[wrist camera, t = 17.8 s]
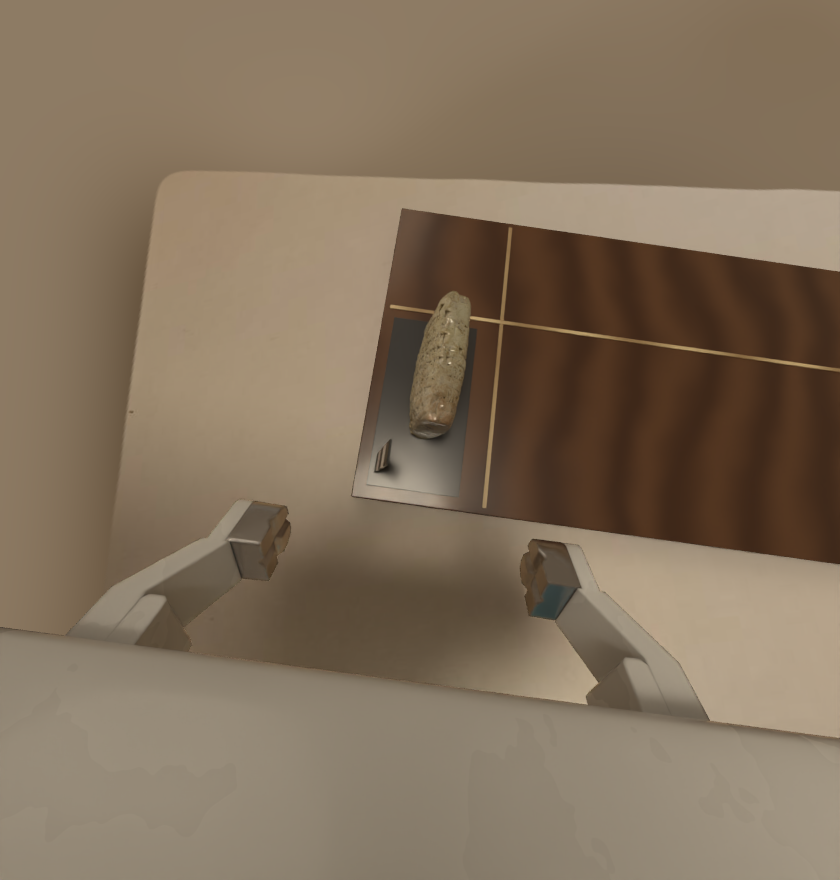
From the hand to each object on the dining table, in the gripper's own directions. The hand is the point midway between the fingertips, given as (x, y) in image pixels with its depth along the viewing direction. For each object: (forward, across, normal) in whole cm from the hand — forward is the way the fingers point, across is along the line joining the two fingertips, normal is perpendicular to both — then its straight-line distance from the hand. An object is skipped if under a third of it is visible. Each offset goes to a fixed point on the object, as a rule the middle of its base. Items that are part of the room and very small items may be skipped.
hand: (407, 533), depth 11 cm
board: (+20, -17, +1) cm, 26 cm away
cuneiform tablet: (+16, 0, +3) cm, 16 cm away
